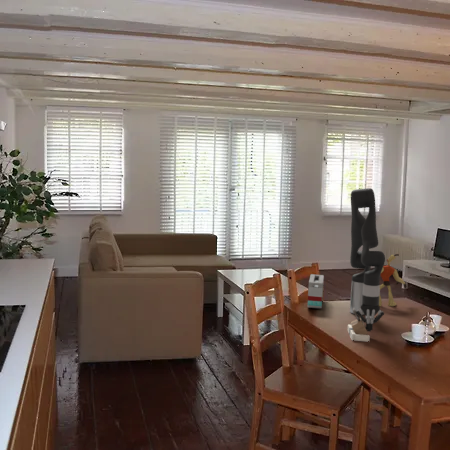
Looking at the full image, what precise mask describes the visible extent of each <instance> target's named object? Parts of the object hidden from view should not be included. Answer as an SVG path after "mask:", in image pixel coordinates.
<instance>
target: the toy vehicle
mask: <svg viewBox="0 0 450 450" xmlns="http://www.w3.org/2000/svg"><path fill="white" fill-rule="evenodd" d="M324 279H325V276H324V274H313V273H311V274H310V276H309V280H308V291H307V292H308V293H307V306H306V307H307V308H310V309H311V308H312V309H323V299H324V296H323V295H324V287H325V285H324Z"/></svg>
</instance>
